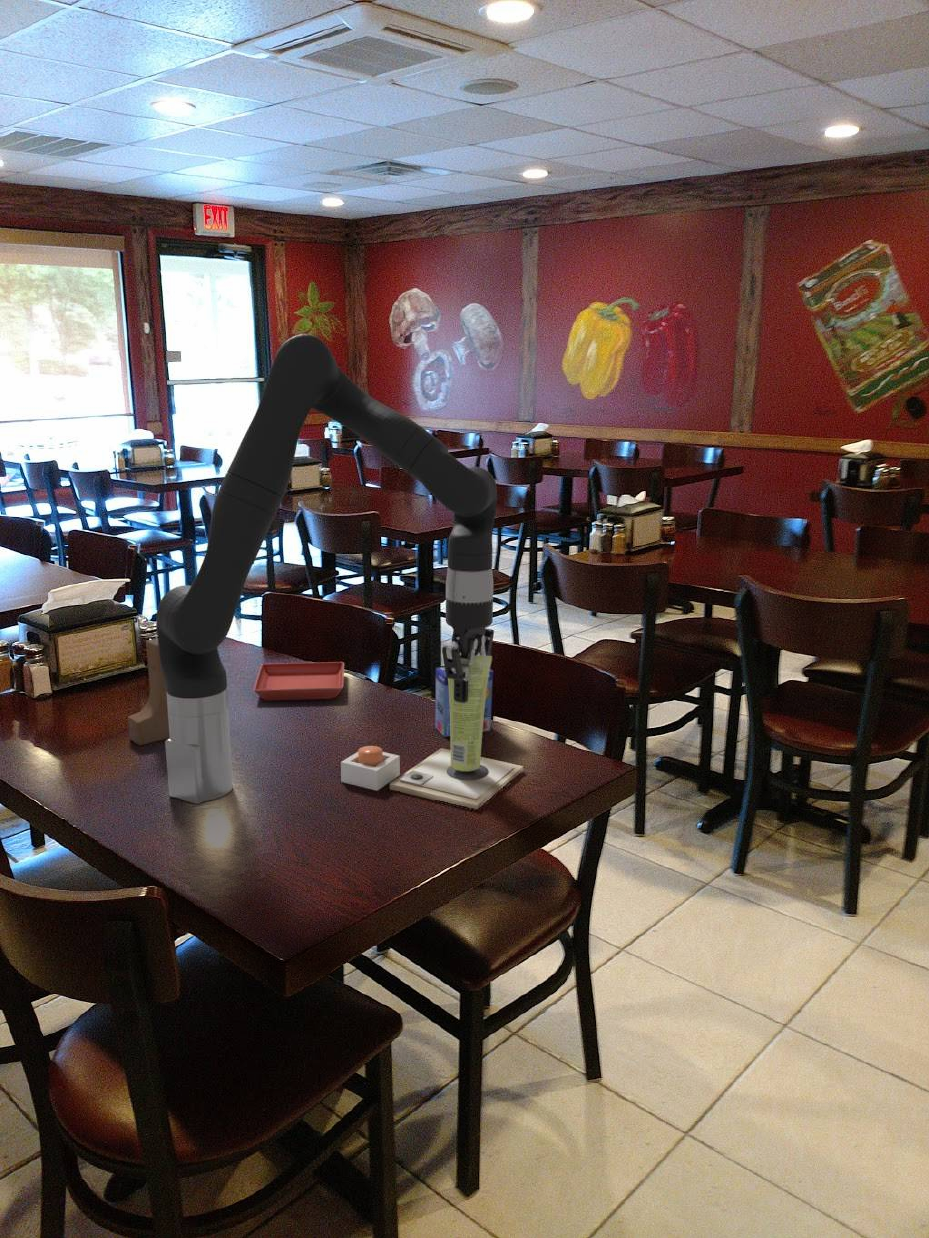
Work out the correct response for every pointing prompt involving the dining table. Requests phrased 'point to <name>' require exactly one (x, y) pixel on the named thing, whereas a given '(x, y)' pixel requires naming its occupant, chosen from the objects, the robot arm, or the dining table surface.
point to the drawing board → (455, 780)
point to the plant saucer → (300, 681)
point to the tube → (469, 717)
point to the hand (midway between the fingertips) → (467, 696)
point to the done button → (370, 755)
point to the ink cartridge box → (444, 705)
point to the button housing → (370, 771)
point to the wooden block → (152, 704)
